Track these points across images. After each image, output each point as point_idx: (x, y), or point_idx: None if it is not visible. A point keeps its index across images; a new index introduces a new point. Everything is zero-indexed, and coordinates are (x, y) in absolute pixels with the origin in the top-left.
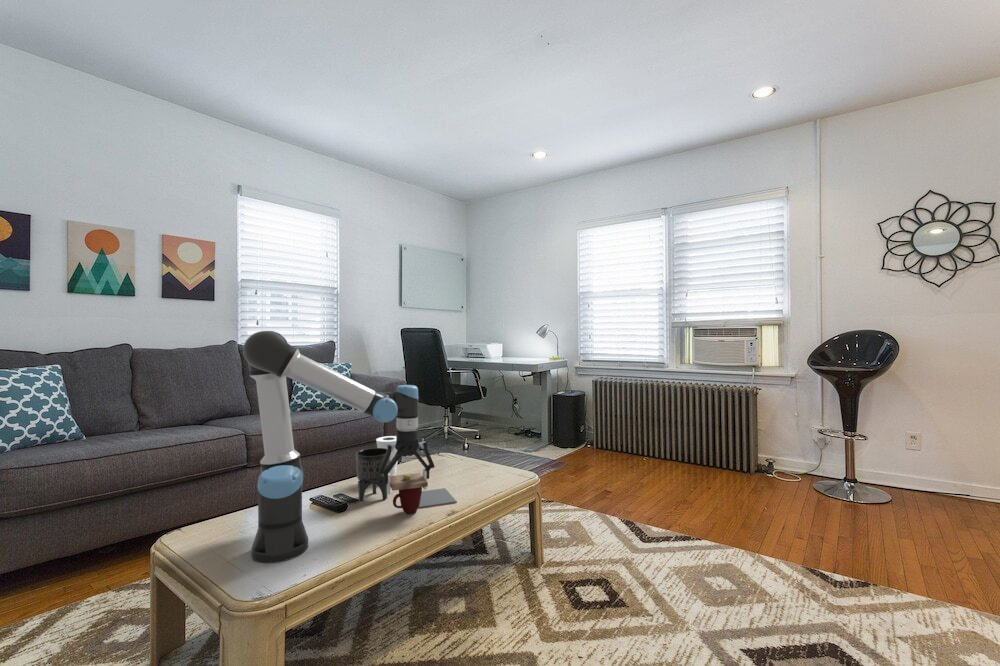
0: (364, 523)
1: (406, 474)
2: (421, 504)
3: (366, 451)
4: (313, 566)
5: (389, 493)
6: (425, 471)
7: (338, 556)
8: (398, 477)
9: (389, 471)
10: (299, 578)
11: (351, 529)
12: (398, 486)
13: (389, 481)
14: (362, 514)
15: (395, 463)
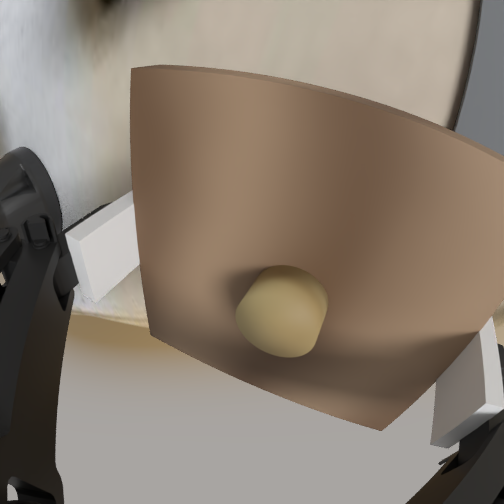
0: None
1: (284, 303)
2: (471, 139)
3: None
4: None
5: None
6: (439, 442)
7: (112, 291)
8: (230, 180)
9: (67, 318)
10: (80, 302)
11: (124, 178)
12: (186, 349)
13: (128, 266)
14: (166, 56)
15: (57, 405)
